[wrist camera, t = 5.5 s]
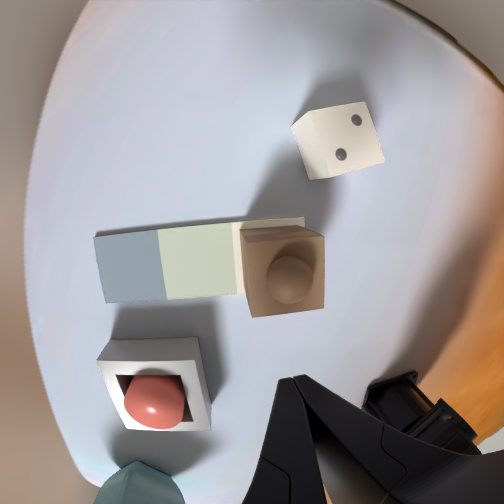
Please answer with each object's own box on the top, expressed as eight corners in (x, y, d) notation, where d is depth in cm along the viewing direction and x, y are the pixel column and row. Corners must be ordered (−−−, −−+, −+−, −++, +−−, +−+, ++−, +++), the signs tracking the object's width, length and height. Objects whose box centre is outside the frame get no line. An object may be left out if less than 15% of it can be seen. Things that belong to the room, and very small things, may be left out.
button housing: (197, 336, 20) (194, 359, 17) (211, 405, 21) (211, 430, 18) (109, 339, 19) (96, 360, 16) (134, 405, 21) (126, 428, 18)
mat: (303, 216, 19) (304, 217, 19) (305, 285, 20) (306, 286, 20) (94, 236, 17) (93, 237, 17) (107, 301, 19) (105, 303, 18)
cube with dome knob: (298, 225, 19) (335, 241, 12) (299, 280, 20) (333, 319, 13) (239, 229, 18) (249, 248, 12) (243, 286, 19) (255, 331, 13)
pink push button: (180, 358, 19) (175, 388, 16) (191, 399, 20) (188, 429, 17) (128, 359, 19) (115, 387, 15) (142, 399, 20) (134, 427, 16)
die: (339, 115, 18) (366, 100, 14) (356, 166, 19) (386, 161, 15) (290, 126, 18) (308, 110, 13) (308, 180, 18) (331, 177, 14)
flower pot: (130, 446, 22) (115, 508, 13) (193, 476, 24) (192, 534, 15) (101, 464, 23) (87, 514, 14) (156, 492, 25) (151, 540, 16)
